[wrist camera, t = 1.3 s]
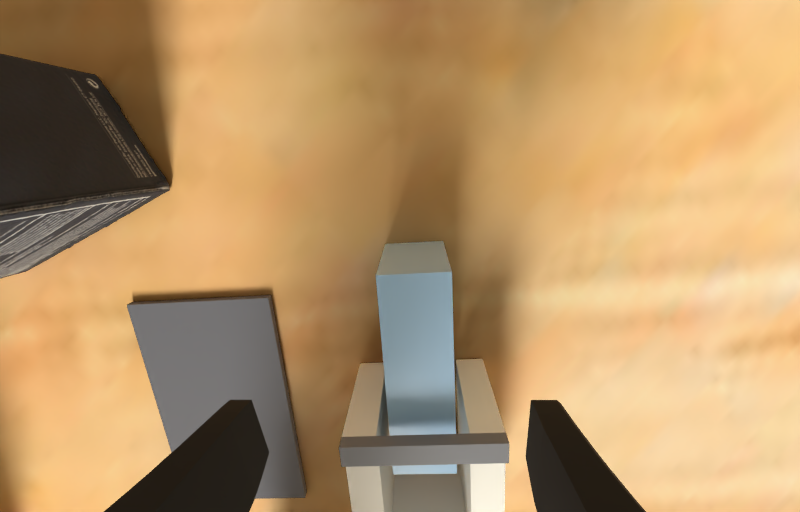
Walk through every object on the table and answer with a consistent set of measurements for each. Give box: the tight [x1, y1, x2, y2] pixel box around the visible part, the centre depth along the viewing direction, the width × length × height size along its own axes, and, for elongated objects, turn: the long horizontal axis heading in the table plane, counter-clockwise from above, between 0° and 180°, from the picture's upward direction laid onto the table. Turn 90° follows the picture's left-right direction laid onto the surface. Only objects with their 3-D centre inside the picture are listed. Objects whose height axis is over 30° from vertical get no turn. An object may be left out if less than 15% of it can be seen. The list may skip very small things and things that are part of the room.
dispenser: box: [339, 359, 509, 512], centre depth 19 cm, size 9×7×6 cm
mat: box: [127, 295, 307, 499], centre depth 22 cm, size 14×8×1 cm, turn 4°
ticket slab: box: [376, 241, 457, 475], centre depth 18 cm, size 10×3×5 cm, turn 4°
